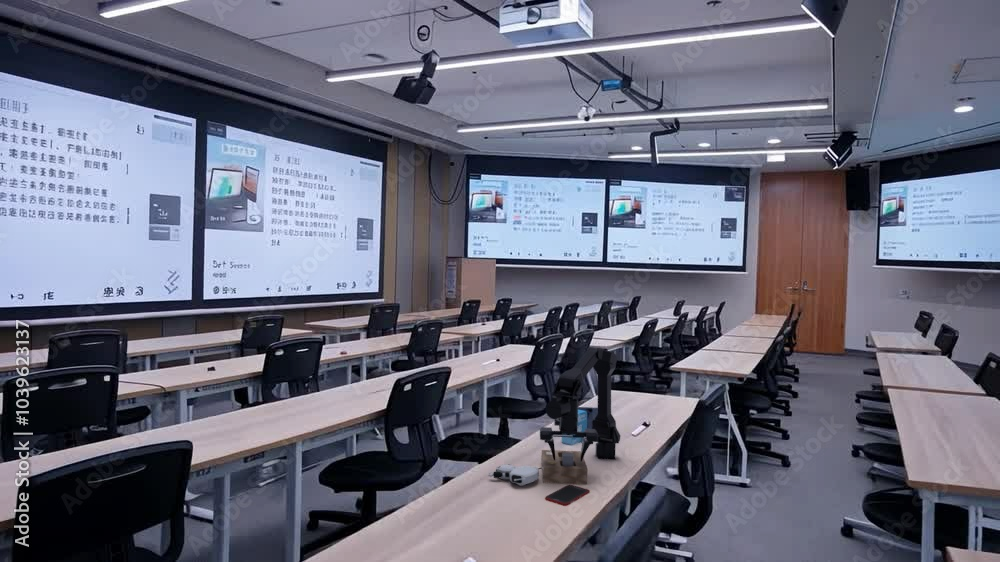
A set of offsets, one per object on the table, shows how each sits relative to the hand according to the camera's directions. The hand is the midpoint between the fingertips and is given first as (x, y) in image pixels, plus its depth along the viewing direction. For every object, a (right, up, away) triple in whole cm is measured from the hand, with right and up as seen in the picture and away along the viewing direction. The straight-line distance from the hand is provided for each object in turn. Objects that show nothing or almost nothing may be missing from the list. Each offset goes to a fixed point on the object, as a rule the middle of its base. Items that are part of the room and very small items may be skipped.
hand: (567, 460), depth 195 cm
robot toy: (-17, -6, -3) cm, 18 cm away
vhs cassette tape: (+15, -5, +58) cm, 60 cm away
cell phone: (-2, -7, -14) cm, 16 cm away
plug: (0, -6, 0) cm, 6 cm away
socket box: (-1, -6, +5) cm, 8 cm away
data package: (+7, -5, +41) cm, 42 cm away
